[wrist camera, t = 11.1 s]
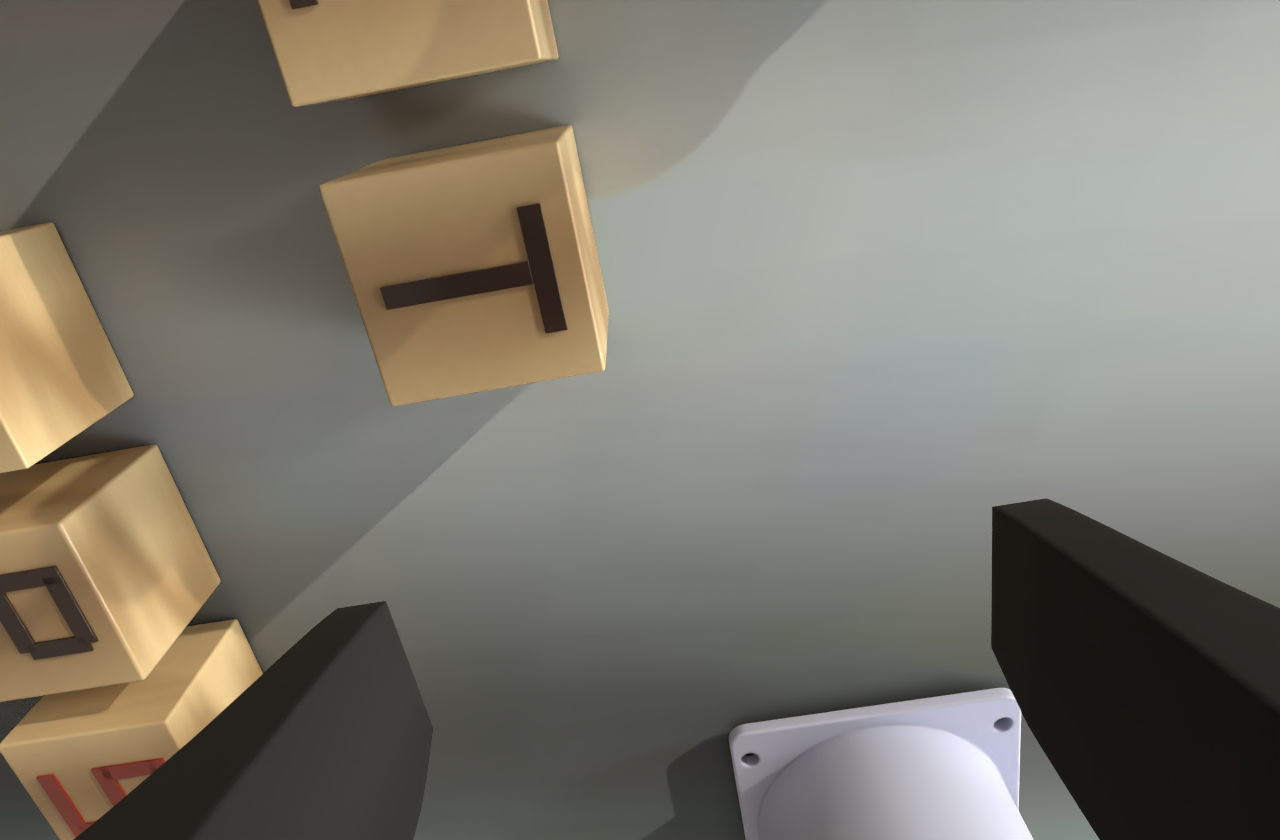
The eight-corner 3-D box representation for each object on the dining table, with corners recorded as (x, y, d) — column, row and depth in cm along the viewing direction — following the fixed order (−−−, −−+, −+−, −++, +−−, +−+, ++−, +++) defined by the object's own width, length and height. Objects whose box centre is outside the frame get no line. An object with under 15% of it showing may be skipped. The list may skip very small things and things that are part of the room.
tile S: (291, 731, 23) (233, 847, 19) (155, 750, 23) (75, 869, 19) (237, 617, 21) (164, 723, 18) (92, 640, 21) (-7, 748, 18)
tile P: (223, 581, 20) (144, 683, 17) (74, 605, 21) (-32, 709, 17) (157, 442, 19) (57, 524, 16) (-3, 469, 19) (-137, 556, 16)
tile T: (609, 313, 18) (605, 372, 14) (433, 344, 18) (390, 409, 15) (572, 124, 16) (558, 140, 13) (379, 160, 16) (316, 186, 13)
